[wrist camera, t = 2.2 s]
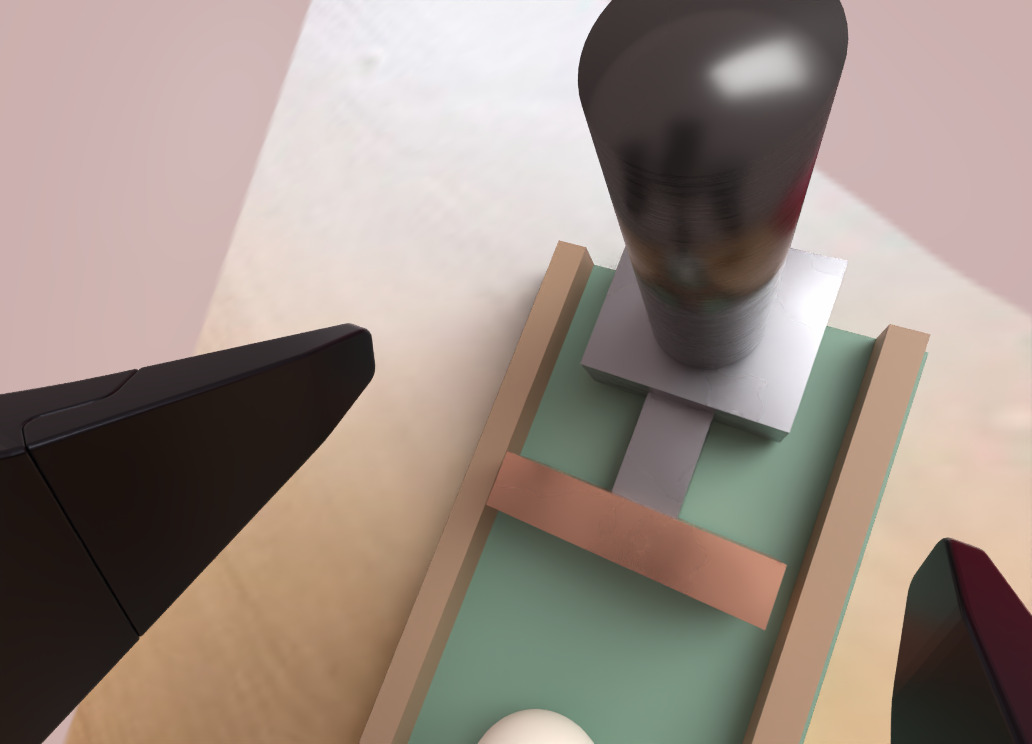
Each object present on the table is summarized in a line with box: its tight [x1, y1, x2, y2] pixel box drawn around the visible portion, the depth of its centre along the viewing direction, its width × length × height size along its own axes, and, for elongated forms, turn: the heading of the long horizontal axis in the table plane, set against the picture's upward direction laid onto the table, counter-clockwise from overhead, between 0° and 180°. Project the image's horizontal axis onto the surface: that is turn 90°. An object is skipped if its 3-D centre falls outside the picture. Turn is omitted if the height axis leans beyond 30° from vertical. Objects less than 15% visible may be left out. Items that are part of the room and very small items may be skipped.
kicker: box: [486, 0, 848, 630], centre depth 13 cm, size 10×8×13 cm
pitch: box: [359, 241, 930, 744], centre depth 18 cm, size 24×12×2 cm, turn 157°
